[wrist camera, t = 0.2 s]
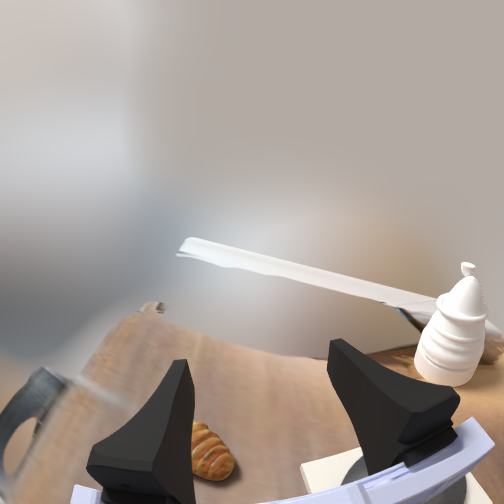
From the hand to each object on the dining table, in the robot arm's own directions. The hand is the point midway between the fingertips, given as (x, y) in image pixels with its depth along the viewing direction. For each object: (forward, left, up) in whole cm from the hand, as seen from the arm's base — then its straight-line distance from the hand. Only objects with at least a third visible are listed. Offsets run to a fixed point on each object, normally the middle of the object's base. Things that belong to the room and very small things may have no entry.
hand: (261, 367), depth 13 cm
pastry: (+9, +6, -22) cm, 25 cm away
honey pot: (+14, -35, -22) cm, 44 cm away
